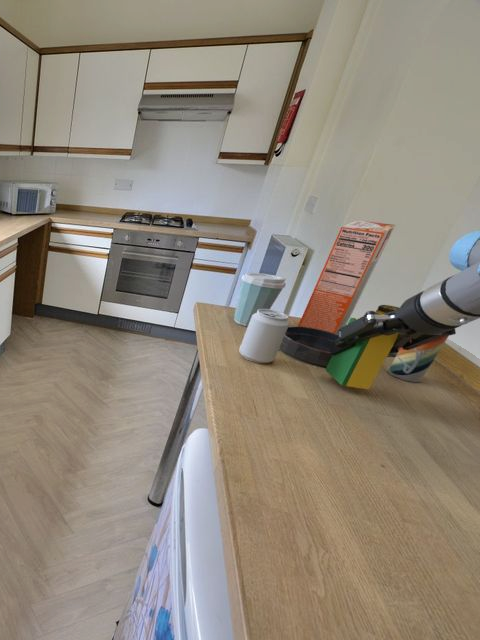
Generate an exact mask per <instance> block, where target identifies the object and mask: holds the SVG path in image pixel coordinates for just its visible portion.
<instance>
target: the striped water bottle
mask: <svg viewBox="0 0 480 640" xmlns="http://www.w3.org/2000/svg"><path fill="white" fill-rule="evenodd" d="M448 338H449V336H445V337H441V338H439V339H436V340H434V341H431V342H428V343H426V344H423V345H421V346H418V347H416V348H413V349H411V350H403V348H399V349H398V354H397V355H395V357H394V359H393V361H392V363H391V364H390V366H389V368H388V371H387V372H388V374H390V375H391V376H393V377H394V378H397V379H399V380H403V381H406V382H412V383H419V382H421V381H422V380H423V378H424V376H425V375H426V373H427V372H428V370H429V369H430V367H431V366H432V364H433V362H434V360H435V359H436V357H437V355H438V354H439V353H440V351H441V350H442V348H443V346H444V344H445V343H446V341H447V340H448Z"/></svg>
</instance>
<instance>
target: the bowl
mask: <svg viewBox="0 0 480 640" xmlns="http://www.w3.org/2000/svg"><path fill="white" fill-rule="evenodd" d="M338 338H339V336H338V334H335V333H331V332H328V331H324V330H320V329H315V328H310V327H302V326H298V325H291V326H290V325H289V326H288V329H287V331H286V333H285V336H284V338H283V340H282V343H281V345H280V347H279V350H281V351H282V352H284V353H286V354H287V355H288V356H290V357H292V358H294V359H297V360H299V361H303V362H305V363H308V364H312V365H315V366H318V367H319V366H320V367H323V368H327V366H328V363H329V361H330V359H331V357H332V355H331V353H330V343H332V342H334V341H335V340H336V339H338Z"/></svg>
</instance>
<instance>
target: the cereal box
mask: <svg viewBox="0 0 480 640" xmlns="http://www.w3.org/2000/svg"><path fill="white" fill-rule="evenodd" d="M396 226H397V225H396V224H391V223H383V222H374V221H368V220H358V219H357V220H355V221H352V222H350V223H348V224H345V225H343V226H341V227H340V230H339V231H338V234H337V236H336V239H335V241H334V243H333V245H332V248H331V250H330V252H329V255H328V256H327V259H326V261H325V264H324V267H323V268H322V270H321V273H320V275H319V277H318V279H317V281H316V284H315V285H314V289H313V292H312V293H311V296H310V297H309V300H308V302H307V305H306V307H305V309H304V310H303V314H302V316H301V318H300V320H299V322H298V325H297V326H302V327H310V328H315V329H320V330H324V331H328V332H331V333H335V334H338V329H340V328H342V327H344V326H346V325H347V324H348V322H349V320H350V318H352V317H351V316H352V314H353V312H354V310H355V309H356V307H357V304H358V303H359V301H360V298H361V296H362V295H363V292H364V290H365V289H366V286H367V284H368V282H369V281H370V278H371V276H372V274H373V272H374V270H375V268H376V266H377V264H378V262H379V260H380V258H381V256H382V254H383V252H384V251H385V248H386V246H387V244H388V242H389V240H390V237H391V235H393V232H394V229H395V228H396Z"/></svg>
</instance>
